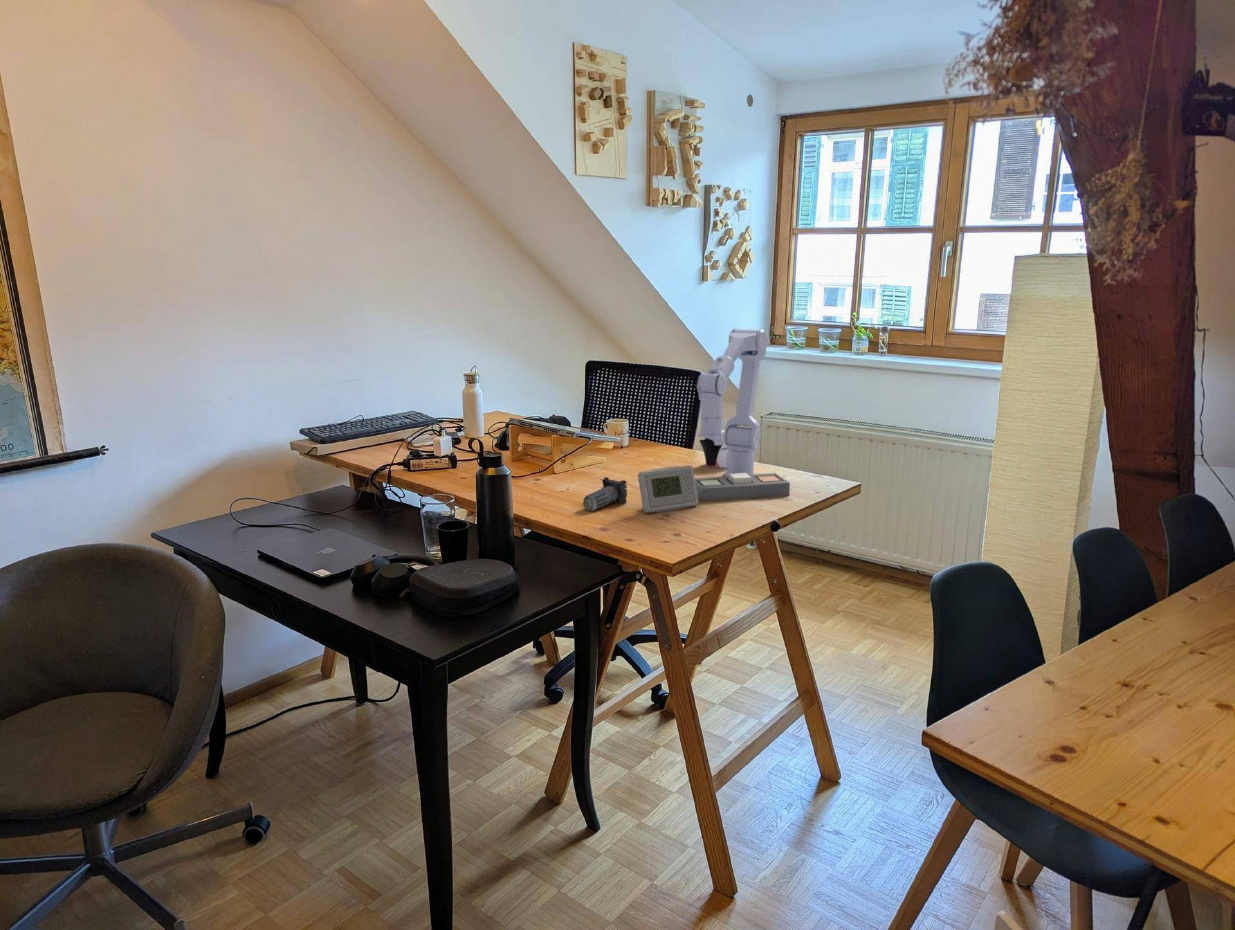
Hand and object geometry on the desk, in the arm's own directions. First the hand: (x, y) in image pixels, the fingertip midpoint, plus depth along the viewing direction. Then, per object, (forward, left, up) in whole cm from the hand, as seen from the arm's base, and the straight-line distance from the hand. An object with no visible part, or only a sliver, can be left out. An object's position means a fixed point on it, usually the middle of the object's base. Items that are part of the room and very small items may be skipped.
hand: (711, 465), depth 218 cm
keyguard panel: (0, +8, -8) cm, 12 cm away
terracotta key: (0, +17, -7) cm, 18 cm away
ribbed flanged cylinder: (+3, -31, -9) cm, 32 cm away
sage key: (0, 0, -7) cm, 7 cm away
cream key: (0, +8, -5) cm, 10 cm away
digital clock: (+9, -14, -9) cm, 19 cm away
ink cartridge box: (-31, +12, -9) cm, 34 cm away
